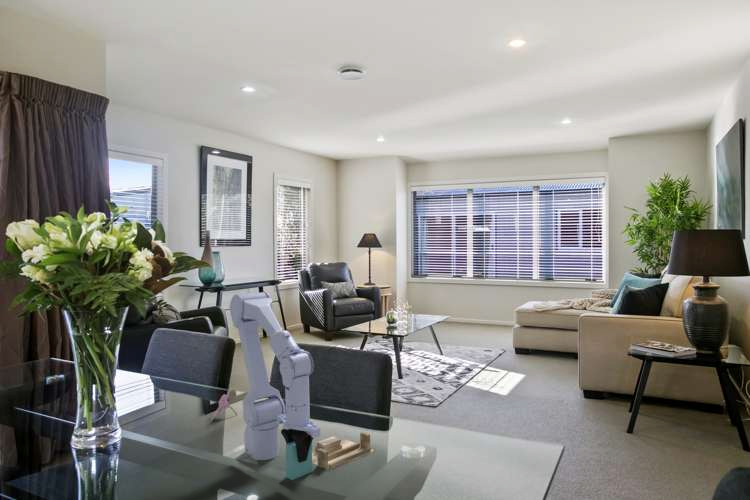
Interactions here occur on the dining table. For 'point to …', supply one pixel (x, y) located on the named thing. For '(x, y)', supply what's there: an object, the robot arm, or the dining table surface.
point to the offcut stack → (329, 444)
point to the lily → (224, 403)
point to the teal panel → (292, 464)
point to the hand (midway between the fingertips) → (298, 459)
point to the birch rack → (342, 453)
